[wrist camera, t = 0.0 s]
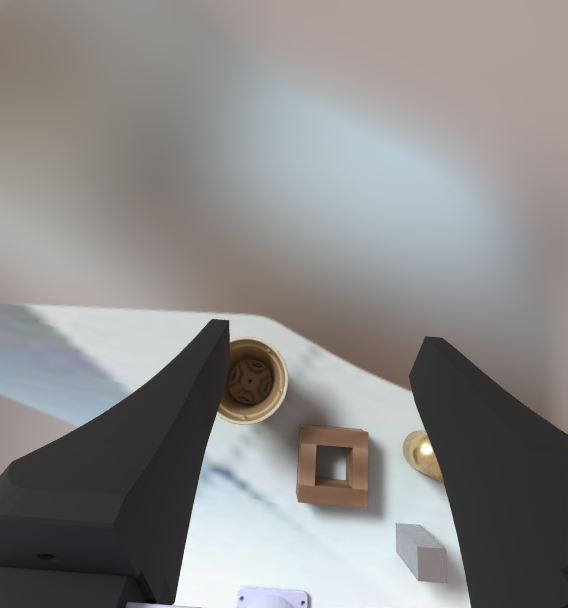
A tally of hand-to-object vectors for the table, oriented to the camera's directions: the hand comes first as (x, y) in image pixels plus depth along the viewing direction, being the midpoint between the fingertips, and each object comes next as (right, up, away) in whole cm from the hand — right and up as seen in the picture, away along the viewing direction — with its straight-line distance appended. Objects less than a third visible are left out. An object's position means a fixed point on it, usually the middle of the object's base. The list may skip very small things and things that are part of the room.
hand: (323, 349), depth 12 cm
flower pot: (-6, -9, +31) cm, 33 cm away
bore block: (+4, -18, +29) cm, 34 cm away
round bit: (+16, -17, +29) cm, 38 cm away
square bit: (+14, -27, +27) cm, 40 cm away
